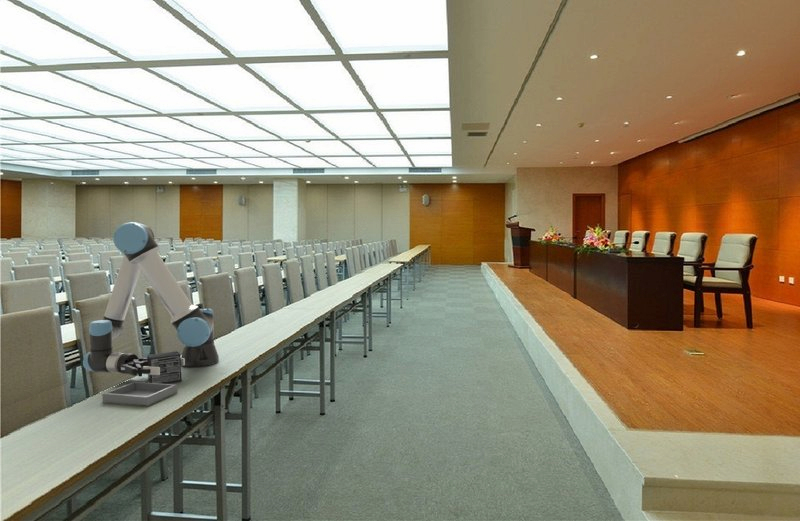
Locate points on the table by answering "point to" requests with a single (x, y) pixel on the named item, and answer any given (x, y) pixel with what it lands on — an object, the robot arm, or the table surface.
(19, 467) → the table surface
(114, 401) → the tray
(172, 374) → the small box
